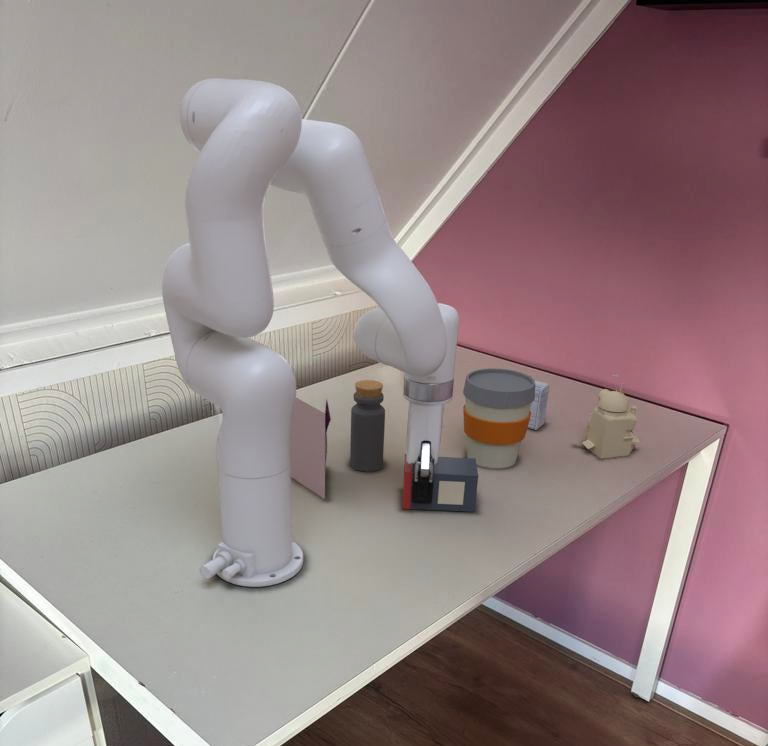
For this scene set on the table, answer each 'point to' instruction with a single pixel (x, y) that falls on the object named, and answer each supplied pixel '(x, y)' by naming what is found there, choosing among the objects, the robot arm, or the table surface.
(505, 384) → the reusable coffee cup
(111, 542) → the table surface
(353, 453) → the bottle
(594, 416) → the robot
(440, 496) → the red-lidded grey box
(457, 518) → the table surface
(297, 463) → the greeting card
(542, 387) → the medicine box
